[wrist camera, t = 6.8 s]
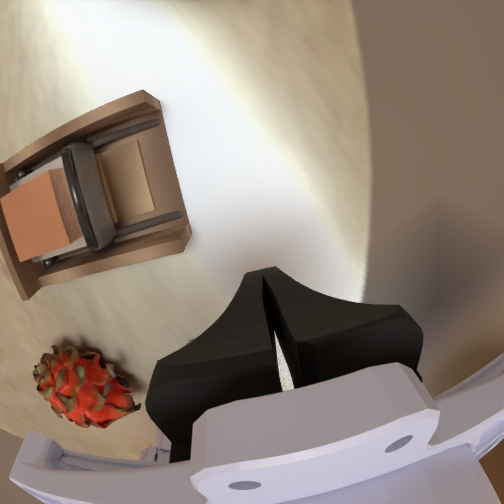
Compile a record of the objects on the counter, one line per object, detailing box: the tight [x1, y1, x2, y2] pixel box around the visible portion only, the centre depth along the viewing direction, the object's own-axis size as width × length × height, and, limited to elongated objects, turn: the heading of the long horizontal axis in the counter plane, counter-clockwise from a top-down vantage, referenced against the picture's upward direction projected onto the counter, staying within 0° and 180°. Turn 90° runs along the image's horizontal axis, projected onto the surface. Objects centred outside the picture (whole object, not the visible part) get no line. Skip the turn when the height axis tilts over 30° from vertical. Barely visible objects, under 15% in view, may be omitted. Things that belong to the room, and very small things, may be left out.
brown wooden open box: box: [0, 90, 192, 301], centre depth 15 cm, size 13×10×6 cm
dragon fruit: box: [32, 345, 141, 428], centre depth 21 cm, size 8×8×12 cm
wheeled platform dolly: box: [0, 138, 116, 268], centre depth 14 cm, size 8×8×5 cm
